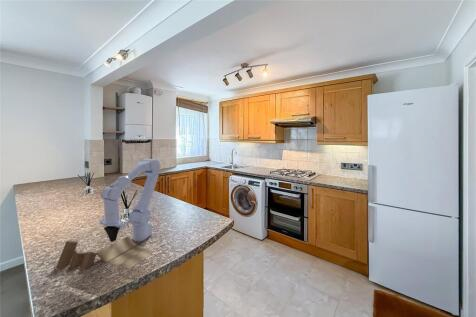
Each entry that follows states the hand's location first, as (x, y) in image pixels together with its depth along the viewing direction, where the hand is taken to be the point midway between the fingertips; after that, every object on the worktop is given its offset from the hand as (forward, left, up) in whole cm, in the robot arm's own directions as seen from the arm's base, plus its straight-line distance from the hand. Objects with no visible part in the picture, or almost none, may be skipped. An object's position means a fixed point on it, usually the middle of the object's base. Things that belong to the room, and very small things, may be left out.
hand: (113, 240), depth 100 cm
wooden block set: (+13, -7, -7) cm, 16 cm away
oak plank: (0, +2, -4) cm, 5 cm away
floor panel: (0, +12, -6) cm, 14 cm away
